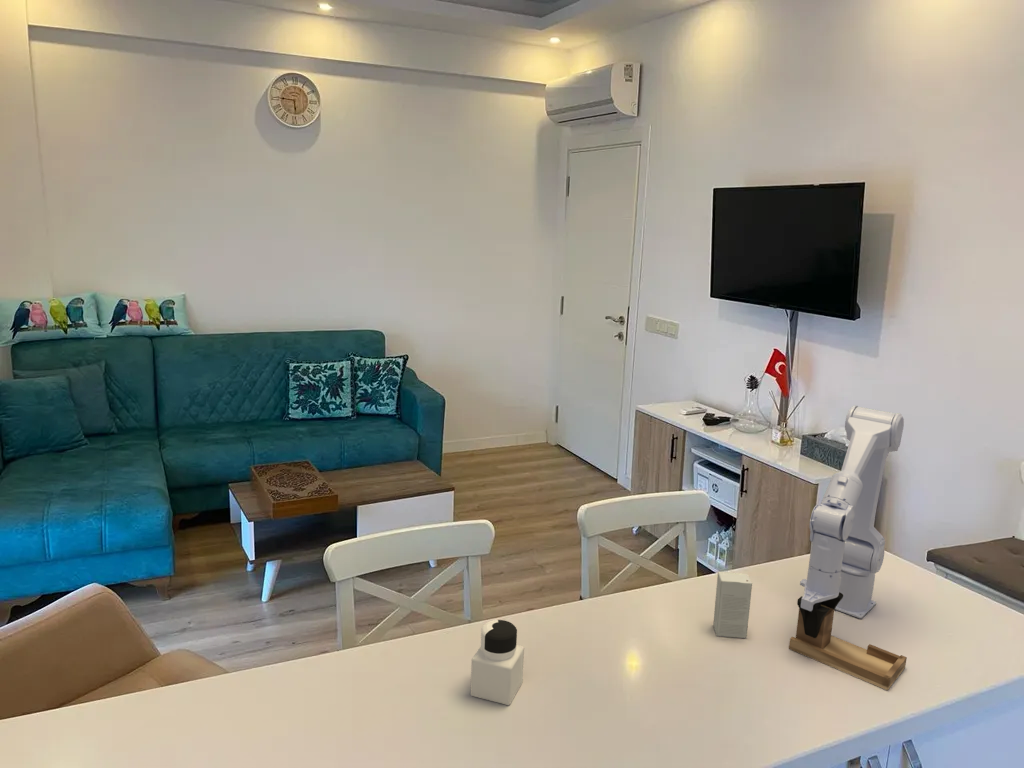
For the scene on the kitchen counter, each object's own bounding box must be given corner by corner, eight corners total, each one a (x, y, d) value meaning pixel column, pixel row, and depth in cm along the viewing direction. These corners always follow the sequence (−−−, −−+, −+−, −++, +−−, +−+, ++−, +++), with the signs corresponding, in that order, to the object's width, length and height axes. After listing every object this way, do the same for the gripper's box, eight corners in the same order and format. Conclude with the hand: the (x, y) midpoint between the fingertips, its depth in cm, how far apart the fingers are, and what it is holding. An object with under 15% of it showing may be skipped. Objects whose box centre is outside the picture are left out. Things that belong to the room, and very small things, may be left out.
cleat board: (809, 629, 151) (810, 619, 151) (905, 667, 139) (906, 657, 139) (788, 648, 144) (790, 638, 144) (887, 690, 132) (889, 679, 132)
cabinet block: (805, 632, 149) (809, 596, 147) (830, 642, 146) (834, 605, 144) (795, 640, 146) (799, 604, 144) (820, 650, 142) (825, 613, 141)
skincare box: (742, 627, 151) (748, 573, 148) (746, 639, 147) (753, 583, 144) (711, 625, 152) (717, 570, 149) (715, 636, 147) (721, 580, 145)
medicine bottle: (523, 682, 130) (526, 620, 128) (509, 706, 124) (512, 641, 121) (485, 673, 133) (487, 611, 130) (469, 696, 126) (471, 632, 123)
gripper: (819, 548, 150) (810, 609, 153) (788, 570, 140) (780, 636, 142) (855, 560, 145) (845, 623, 148) (826, 584, 135) (816, 651, 138)
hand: (816, 630), depth 145 cm, fingers closed on cabinet block, 4 cm apart
